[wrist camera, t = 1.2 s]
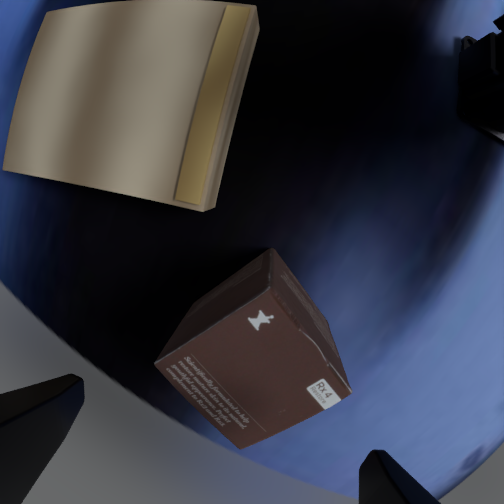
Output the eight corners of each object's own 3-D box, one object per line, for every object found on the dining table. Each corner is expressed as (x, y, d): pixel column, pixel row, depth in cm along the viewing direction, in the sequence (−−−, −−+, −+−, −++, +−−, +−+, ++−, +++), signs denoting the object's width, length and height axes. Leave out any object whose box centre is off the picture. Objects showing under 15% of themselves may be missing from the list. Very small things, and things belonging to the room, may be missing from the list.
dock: (259, 29, 16) (256, 3, 12) (214, 207, 18) (201, 212, 15) (69, 26, 16) (45, 11, 13) (30, 169, 18) (0, 170, 15)
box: (191, 301, 19) (147, 362, 12) (273, 243, 18) (270, 282, 11) (251, 372, 20) (238, 453, 13) (331, 324, 19) (355, 396, 12)
